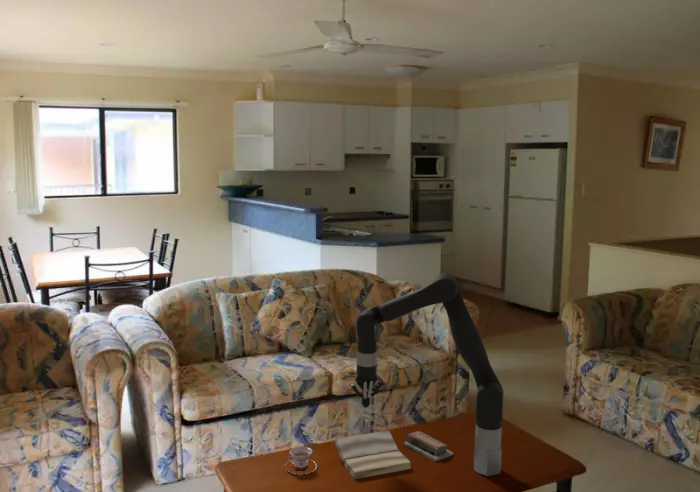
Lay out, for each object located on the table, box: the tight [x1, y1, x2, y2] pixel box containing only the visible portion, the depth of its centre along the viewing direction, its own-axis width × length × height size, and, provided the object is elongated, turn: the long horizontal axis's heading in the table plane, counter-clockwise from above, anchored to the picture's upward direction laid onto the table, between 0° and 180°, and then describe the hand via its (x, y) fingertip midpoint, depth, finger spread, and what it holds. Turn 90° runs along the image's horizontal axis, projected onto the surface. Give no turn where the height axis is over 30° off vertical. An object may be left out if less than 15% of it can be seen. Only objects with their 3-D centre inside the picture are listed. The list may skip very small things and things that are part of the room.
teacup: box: [284, 446, 318, 476], centre depth 245 cm, size 12×12×6 cm
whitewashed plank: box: [334, 429, 399, 464], centre depth 255 cm, size 10×22×2 cm, turn 112°
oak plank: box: [344, 450, 412, 480], centre depth 246 cm, size 10×22×3 cm, turn 112°
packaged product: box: [403, 430, 454, 462], centre depth 261 cm, size 18×5×10 cm
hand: (365, 406), depth 255 cm, fingers closed
